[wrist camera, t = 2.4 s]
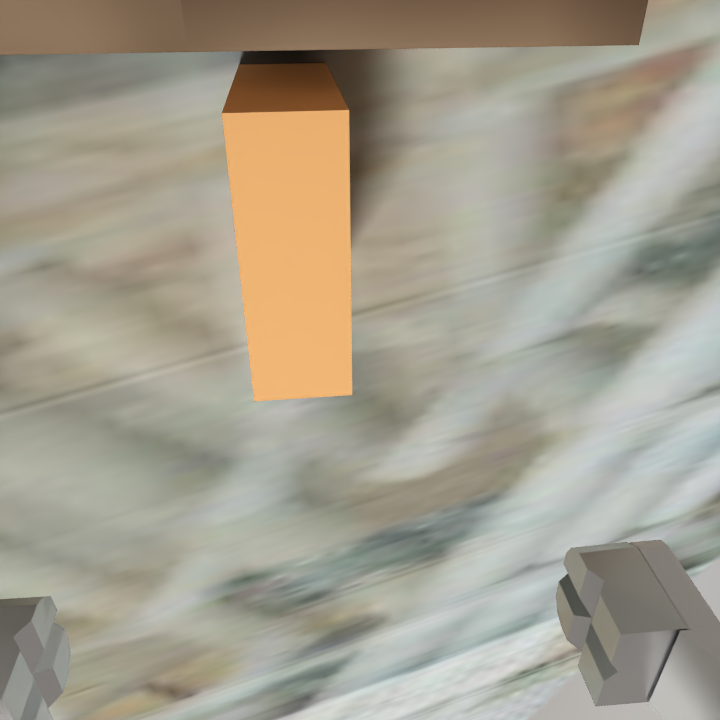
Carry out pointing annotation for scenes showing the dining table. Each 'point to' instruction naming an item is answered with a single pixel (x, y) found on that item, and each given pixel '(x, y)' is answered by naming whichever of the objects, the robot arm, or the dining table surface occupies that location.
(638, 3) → the notched shelf
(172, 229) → the dining table surface
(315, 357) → the wooden arch block
